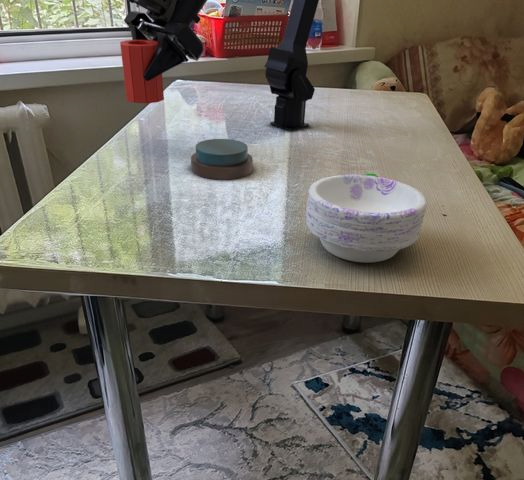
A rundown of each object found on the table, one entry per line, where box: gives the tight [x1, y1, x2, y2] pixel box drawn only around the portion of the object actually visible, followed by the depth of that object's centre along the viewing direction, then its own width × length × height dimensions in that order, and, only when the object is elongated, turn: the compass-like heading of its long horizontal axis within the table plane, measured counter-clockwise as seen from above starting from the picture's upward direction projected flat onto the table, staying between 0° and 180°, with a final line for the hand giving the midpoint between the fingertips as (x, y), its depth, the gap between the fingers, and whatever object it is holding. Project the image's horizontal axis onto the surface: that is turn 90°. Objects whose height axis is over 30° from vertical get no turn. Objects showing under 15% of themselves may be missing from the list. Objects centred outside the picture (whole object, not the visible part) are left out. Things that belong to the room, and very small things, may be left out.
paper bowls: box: [305, 174, 428, 264], centre depth 73 cm, size 15×15×8 cm
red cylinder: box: [119, 39, 165, 104], centre depth 97 cm, size 7×7×9 cm
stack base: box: [190, 138, 254, 181], centre depth 97 cm, size 11×11×4 cm
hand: (135, 75), depth 96 cm, fingers closed on red cylinder, 7 cm apart
